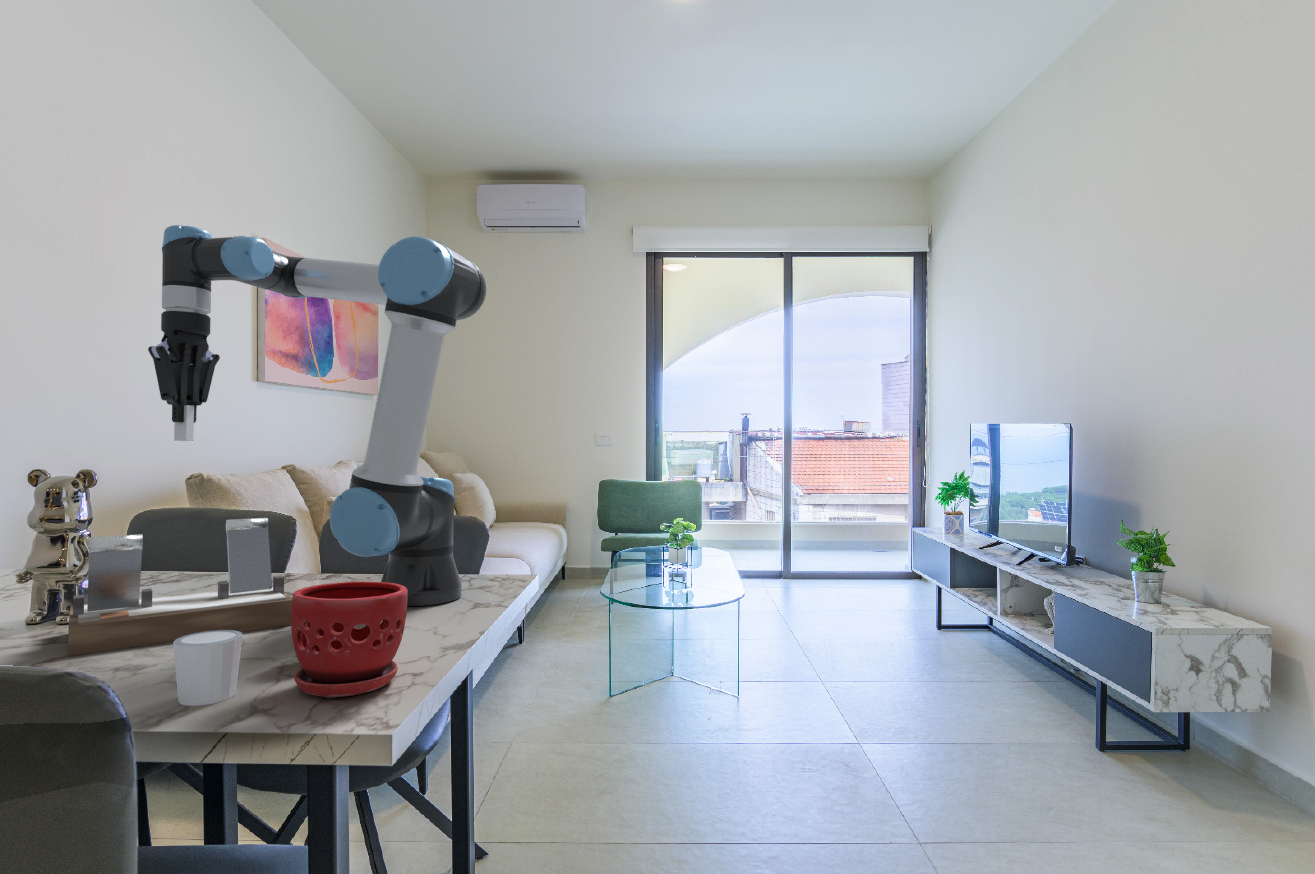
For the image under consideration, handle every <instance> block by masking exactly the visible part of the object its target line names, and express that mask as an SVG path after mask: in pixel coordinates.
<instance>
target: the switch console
mask: <svg viewBox="0 0 1315 874" xmlns="http://www.w3.org/2000/svg"><path fill="white" fill-rule="evenodd" d="M272 577H273V578H272V588H271V589H268V590H259V591H250V592H241V593H232V594H230V591H229V581H227V580H221V581H217V590H212V591H201V592H192V593H182V594H173V595H165V596H164V595H163V596H155V597H153V589H152V588H151V587H148V588H141V598H139V606H135V607H126V608H117V609H108V610H99V611H90V612H87V605H88V603H86V604H85V594H78V595H77V594H76V595H73V599H72V601H73V602H72V603H73V604H72V605H73V606H70V608H69V618H68V633H67V635H68V640H67V656H68V657H71V656H79V655H88V654H93V653H102V652H108V651H114V650H120V649H122V650H123V649H129V648H138V647H143V646H150V645H157V644H162V643H163V644H165V643H171V642H172V643H173V642H174V641H175V640H176V639H178V638H180V637H183V636H186V635H190V634H194V633H199V632H205V631H216V630H233V631H240V632H241V633H243V632H249V631H257V630H263V629H265V630H266V629H271V628H278V627H285V626H291V606H292V597H293V596H290V595H289V594H288V593H287V592H285V576H283V575H273V576H272Z"/></svg>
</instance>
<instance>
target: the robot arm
mask: <svg viewBox="0 0 1315 874" xmlns="http://www.w3.org/2000/svg"><path fill="white" fill-rule="evenodd" d="M161 252H162V265H161V266H162V269H161V270H162V277H161V278H162V279H161V308H162V309H163V310H164V311H163V312H161V314H160V315H161V316H160V319H161V320H160V321H161V322H160V328H161V329H160V330H161V332H163V336H162V338H161V343H158V344H156V345H151V346H148V349H147V351H148V353H149V354H150V357H151V358H152V361H153V363H154V364H153V365H154V370H155V374H156V379H157V380H156V381H157V385H158V390H159V395H160V399H161V400H162V401H166V404H167V405H170V406H171V420H172V423H174V430H173V433H174V434H173V439H174V441H175V442H176V441H179V442H193V441H194V433H195V432H194V427H195V425H194V424H195V423H196V422H197V407H198V406H201V405H203V404H204V403H207V401H208V399H209V398H208V397H209V394H210V389H211V386H212V380H213V376H214V373H215V368H216V365H217V364H218V363H219V361H220V359H221V356H220V355H219V354H218V353H217V354H216V353H213V352H212V351H211V350H210V347H209V343H208V337H209V336H210V335H211V317H210V316H209V314H210V313H211V311H212V307H211V306H212V301H211V300H212V281H214V282H216V281H234V282H240V283H243V284H246V285H250V286H252V287H257V288H261V289H264V290H268V291H271V292H274V293H278V294H280V295H283V296H284V297H289V298H293V299H294V298H296V299H306V298H307V297H309V298H318V299H328V300H337V301H346V302H348V301H349V302H353V303H354V302H355V303H365V304H366V303H367V304H375V305H384V306H385V308H384V314H385V316H386V317H387V319H388V320H389V322H390V324H391V326H390V331H389V336H388V337H389V338H388V342H387V348H386V353H385V357H384V363H383V368H382V372H381V378H380V383H379V388H378V393H377V398H376V402H375V408H374V411H373V418H372V422H371V427H370V432H369V438H368V443H367V449H366V452H365V458H364V461H363V463H362V464H361V465H359V466H358V467H356V468H355V469H354V470H353V471H352V473H351V476H350V477H351V479H350V483H349V488H347V489H345V490H344V491H343V492H342V493H341V494H340V495H338V496H337V497H336V498H335V499H334V501H333V503H332V505H331V506H330V512H329V525H330V530H331V532H332V535H333V537H334V538H336V539H337V542H338V544H339V545H340V547H341V548H343V549H344V550H345V551H346V552H347V553H350V554H352V555H353V556H356V557H357V556H358V557H362V558H363V557H365V558H368V557H380V556H384V555H387V554H388V561H387V563H386V566H385V569H384V572H383V574H382V577H381V580H380V582H386V583H394V584H399V585H402V586H404V587H406V588H407V590H408V596H407V607H420V606H421V607H423V606H424V607H425V606H433V605H440V604H447V603H449V602H453V601H456V600H458V599H460V598H461V597H462V595H463V594H462V591H463V589H462V588H463V587H462V586H463V584H462V581H461V579H460V575H459V571H458V569H457V565H456V563H455V559H454V525H455V524H454V523H455V522H454V519H455V517H454V516H455V515H454V514H455V501H456V496H455V495H454V494H455V491H454V490H455V489H454V488H455V486H454V484H453V482H452V481H451V480H450V479H448V478H442V477H433V476H432V477H431V476H422V475H421V476H420V474H419V473H418V466H419V462H420V457H421V452H422V446H423V441H424V436H425V430H426V427H427V426H426V425H427V422H428V417H429V412H430V407H431V401H432V397H433V391H434V386H435V381H436V377H437V372H438V369H439V364H440V363H439V361H440V357H441V354H442V347H443V343H444V338H445V336H446V335H448V334H450V333H451V332H453V331H454V330H455V329H456V324H457V321H460V320H466V319H469V318H470V317H472V316H473V315H475V314H476V313H478V311H479V310H480V309H481V307H482V306H483V305H484V303H485V300H486V295H487V284H486V280H485V277H484V274H483V273H482V272H481V270H480V269H479V267H478V266H477V265H476V264H475V262H473V261H472V260H470V259H468V258H466V257H464V256H462V255H460V254H459V253H457V252H455V251H454V250H453V249H450V248H449V247H447V246H446V245H445V244H444V243H441V242H440V241H436V240H433V239H431V238H428V237H425V236H419V235H414V236H408V237H404V238H401V239H399V240H398V241H397V242H396V243H393V244H392V245H391V246H390V247H388V249H386V251H385V253H384V254H383V256H382V257H381V259H380V262H379V264H375V263H366V262H365V263H364V262H354V261H353V262H352V261H342V260H334V259H333V260H331V259H320V258H312V257H311V258H310V257H300V256H299V257H298V256H297V257H296V256H289V255H285V254H282V253H279V252H276V251H274V250H272V248H271V247H270V246H269V245H267V243H266V241H264V240H263V239H262V238H259V237H255V236H244V235H238V236H236V235H235V236H228V237H212V234H211V233H210V232H209V231H207V230H206V229H203V228H201V227H200V228H199V227H196V226H189V225H182V224H181V225H179V224H176V225H173V224H172V225H170V226H167V227H166V228H165V229H164V232H163V241H162V246H161Z"/></svg>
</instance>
